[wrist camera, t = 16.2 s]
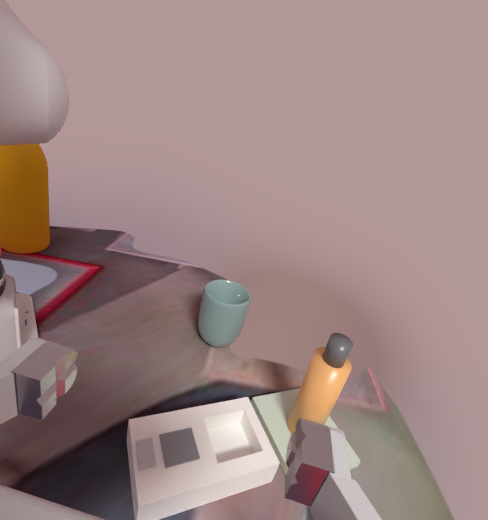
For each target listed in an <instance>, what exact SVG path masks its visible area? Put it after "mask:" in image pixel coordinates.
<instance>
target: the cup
mask: <svg viewBox="0 0 488 520" xmlns="http://www.w3.org/2000/svg"><path fill="white" fill-rule="evenodd" d="M250 301H251V295H250V293H249V291H248V290H247V289H246V288H245V287H243V286H242V285H240V284H238V283H236V282H233V281H230V280H214V281H211V282H209V283H208V284H207V285H206V286H205V288H204V291H203V296H202V301H201V306H200V311H199V320H198V329H199V333H200V335H201V337H202V339H203V340H204V341H205V342H206V343H208V344H209V345H211V346H214V347H225V346H228V345H230V344H232V343H233V342H234V341H235V340H236V338H237V337H238V336H239V334H240V332H241V330H242V328H243V325H244V322H245V319H246V315H247V312H248V308H249V304H250Z"/></svg>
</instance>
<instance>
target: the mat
mask: <svg viewBox="0 0 488 520" xmlns="http://www.w3.org/2000/svg"><path fill="white" fill-rule="evenodd" d="M299 390H300V388H298V389H293V390H288V391H283V392H278V393H272V394H267V395H262V396H257V397H252V400H251V404H252V406H253V408H254V410H255V413H256V415H257V417H258V419H259V421H260V423H261V425H262V427H263V429H264V431H265V433H266V435H267V437H268V439H269V442H270V444H271V446H272V448H273V450H274V452H275V454H276V456H277V458H278V460H279V462H280V465H281V467H282V469H283V472H284V474H285V476H286V474H287V471H288V469H289V468H288V466H287V465H286V452H287V446H288V442H289V439H290V437H291V433H290V431H289V429H288V427H287V419H288V417H289V414H290V412H291V410H292V407H293V405H294V402H295V400H296V397H297V395H298V392H299ZM325 425H326V426H327V427H328V426H329V427H332V428H335V429H338V428H337V426H336V425H335V423H334V422H333V420H332V419H331V417H330V416H329V417H328V419H327V421H326V423H325ZM345 441H346V439H345ZM346 447H347V454H348V460H349V467H350V469H353V468H355V467H357V466H358V465H359V463H360V459H359V458H358V456H357V455H356V454H355V452H354V451H353V449H352V448H351V446H350V445H349V443H348V442H347V441H346Z"/></svg>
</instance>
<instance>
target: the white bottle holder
mask: <svg viewBox="0 0 488 520" xmlns="http://www.w3.org/2000/svg"><path fill="white" fill-rule="evenodd" d="M126 440H127V450H128V460H129V471H130V481H131V491H132V501H133V511H134V520H159V519H162V518H165V517H168V516H171V515H174V514H177V513H180V512H183V511H186V510H189V509H192V508H195V507H198V506H201V505H204V504H207V503H210V502H213V501H216V500H219V499H222V498H225V497H228V496H231V495H234V494H237V493H240V492H243V491H246V490H249V489H252V488H255V487H258V486H261V485H264V484H267V483H270V482H272V480H273V477H274V475H275V473H276V471H277V469H278V466H279V464H280V462H279V460H278V458H277V456H276V454H275V452H274V450H273V448H272V446H271V444H270V442H269V439H268V437H267V435H266V433H265V431H264V429H263V427H262V425H261V423H260V421H259V419H258V417H257V415H256V413H255V410H254V408H253V406H252V404H251V402H250V400H249V398H248V397H245V398H239V399H234V400H229V401H224V402H218V403H213V404H208V405H203V406H197V407H192V408H187V409H182V410H176V411H171V412H166V413H161V414H155V415H150V416H145V417H140V418H134V419H129V422H128V431H127V439H126Z"/></svg>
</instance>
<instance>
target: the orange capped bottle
mask: <svg viewBox="0 0 488 520" xmlns="http://www.w3.org/2000/svg"><path fill="white" fill-rule="evenodd" d="M352 346H353V343H352V341H351V340H350V339H349V338H348V337H347V336H345V335H343V334H340V333H333V334H331V336H330V338H329V341H328V343H327V346H326V347H320V348H318V349H317V350H316V351H315V353H314V355H313V358H312V360H311V363H310V365H309V368H308V370H307V373H306V375H305V377H304V380H303V382H302V385H301V387H300V390H299V392H298V395H297V397H296V400H295V402H294V405H293V407H292V410H291V412H290V414H289V417H288V419H287V427H288V429H289V431H290V433H291V434H292V433H294V432H295V425H296V423H297V421H298V419H299V418H302V419H305V420H309V421H312V422H315V423H319V424H322V425H325V423H326V421H327V419H328V417H329V415H330V413H331V411H332V409H333V407H334V405H335V403H336V400H337V398H338V396H339V394H340V392H341V390H342V388H343V386H344V384H345V382H346V380H347V378H348V376H349V374H350V371H351V369H352V365H351V362H350V361H349V359H348V358H347V356H348V355H349V353H350V351H351V348H352Z"/></svg>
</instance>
